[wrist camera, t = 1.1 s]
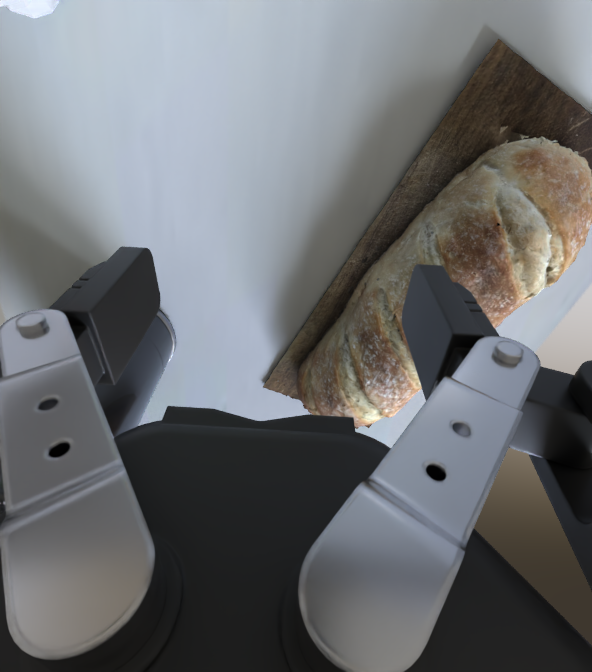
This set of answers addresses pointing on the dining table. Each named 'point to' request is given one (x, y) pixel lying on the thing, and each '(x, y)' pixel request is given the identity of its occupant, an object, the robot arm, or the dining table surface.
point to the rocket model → (30, 7)
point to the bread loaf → (452, 237)
